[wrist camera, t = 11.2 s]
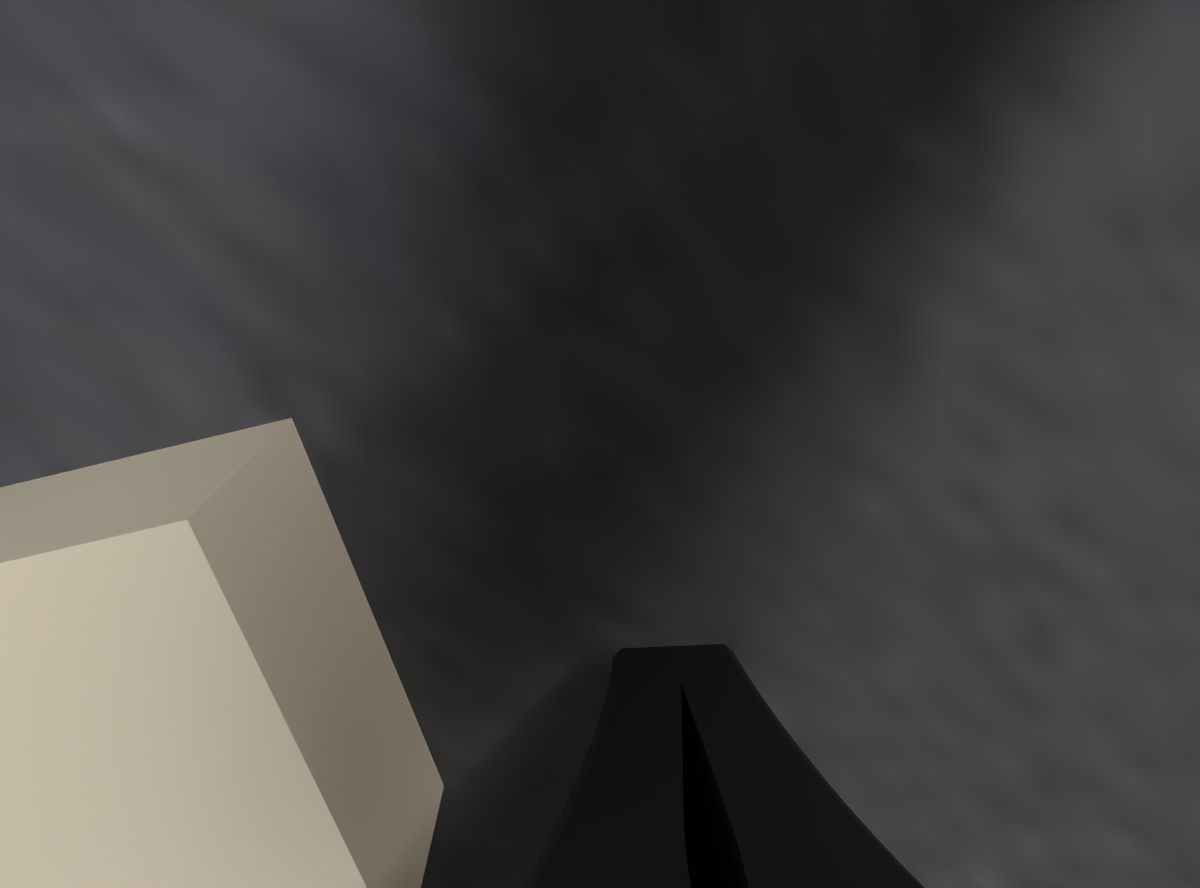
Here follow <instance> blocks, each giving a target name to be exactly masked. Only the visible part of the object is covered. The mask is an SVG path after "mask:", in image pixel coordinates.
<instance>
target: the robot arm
mask: <svg viewBox="0 0 1200 888" xmlns="http://www.w3.org/2000/svg"><path fill="white" fill-rule="evenodd" d="M524 888H924V887H923V886H922V885H921V884H920V883H919V882H918V881H917V880H916V879H915V878H914V877H913V876H912V875H911V874H910V873H909V872H908V871H907V870H906V869H905V867H904V866H903V865H902V864H901V863H900V862H899V861H898V860H897V859H896V858H895V857H894V856H893V855H892V854H891V853H890V852H889V851H888V850H887V849H886V848H885V847H884V846H883V844H882V843H881V842H880V841H879V840H878V839H877V838H876V837H875V836H874V835H873V834H872V832H871V831H870V830H869V829H868V828H867V827H866V826H865V825H864V824H863V822H862V821H861V820H860V819H859V818H858V817H857V816H856V815H855V814H854V812H853V811H852V810H851V809H850V808H849V807H848V806H847V805H846V804H845V802H844V801H843V800H842V799H841V798H840V796H839V795H838V794H837V793H836V792H835V791H834V789H833V788H832V787H831V786H830V785H829V784H828V782H827V781H826V780H825V779H824V778H823V776H822V775H821V774H820V773H819V771H818V770H817V769H816V768H815V766H814V765H813V764H812V763H811V761H810V760H809V759H808V758H807V756H806V755H805V754H804V753H803V751H802V750H801V749H800V748H799V746H798V745H797V744H796V743H795V741H794V740H793V739H792V737H791V736H790V735H789V733H788V732H787V731H786V729H785V728H784V727H783V726H782V724H781V723H780V722H779V720H778V719H777V717H776V716H775V715H774V713H773V712H772V710H771V709H770V708H769V706H768V705H767V703H766V702H765V701H764V699H763V698H762V696H761V695H760V693H759V692H758V690H757V689H756V688H755V686H754V685H753V683H752V682H751V680H750V679H749V677H748V675H747V674H746V672H745V671H744V669H743V668H742V666H741V664H740V663H739V661H738V659H737V658H736V656H735V654H734V652H733V651H732V650H730V649H729V648H728V647H727V646H726V645H725V644H714V645H692V646H670V647H648V648H626V649H621V650H620V651H619V652H618V653H617V654H616V655H615V656H614V657H613V663H612V673H611V678H610V683H609V688H608V692H607V696H606V699H605V703H604V706H603V709H602V713H601V716H600V719H599V722H598V725H597V729H596V731H595V734H594V737H593V739H592V742H591V744H590V747H589V750H588V752H587V755H586V758H585V760H584V763H583V766H582V768H581V771H580V773H579V776H578V778H577V781H576V783H575V785H574V788H573V790H572V792H571V794H570V797H569V799H568V801H567V803H566V805H565V807H564V809H563V812H562V814H561V816H560V818H559V820H558V822H557V824H556V827H555V829H554V831H553V833H552V835H551V837H550V839H549V842H548V844H547V846H546V848H545V850H544V852H543V854H542V856H541V857H540V859H539V861H538V863H537V865H536V867H535V869H534V871H533V873H532V875H531V877H530V878H529V880H528V882H527V884H526V886H525V887H524Z"/></svg>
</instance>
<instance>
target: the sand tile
mask: <svg viewBox="0 0 1200 888" xmlns="http://www.w3.org/2000/svg"><path fill="white" fill-rule="evenodd" d="M443 788H444V785H443V782H442V780H441V778H440V775H439V773H438V770H437V768H436V766H435V763H434V761H433V758H432V756H431V753H430V751H429V749H428V746H427V744H426V741H425V739H424V737H423V734H422V732H421V729H420V727H419V724H418V722H417V720H416V717H415V715H414V712H413V710H412V708H411V705H410V703H409V700H408V698H407V695H406V693H405V691H404V688H403V686H402V683H401V681H400V679H399V676H398V674H397V671H396V669H395V666H394V664H393V662H392V659H391V657H390V654H389V652H388V649H387V647H386V645H385V642H384V640H383V637H382V635H381V633H380V630H379V628H378V625H377V623H376V620H375V618H374V616H373V613H372V611H371V608H370V606H369V604H368V601H367V599H366V596H365V594H364V591H363V589H362V587H361V584H360V582H359V579H358V577H357V575H356V572H355V570H354V567H353V565H352V562H351V560H350V558H349V555H348V553H347V550H346V548H345V546H344V543H343V541H342V538H341V536H340V533H339V531H338V529H337V526H336V524H335V521H334V519H333V517H332V514H331V512H330V509H329V507H328V504H327V502H326V500H325V497H324V495H323V492H322V490H321V487H320V485H319V483H318V480H317V478H316V475H315V473H314V471H313V468H312V466H311V463H310V461H309V458H308V456H307V454H306V451H305V449H304V446H303V444H302V442H301V439H300V437H299V434H298V432H297V429H296V427H295V425H294V422H293V420H292V418H289V419H285V420H281V421H277V422H273V423H268V424H264V425H260V426H256V427H252V428H248V429H243V430H239V431H235V432H231V433H227V434H223V435H218V436H214V437H210V438H206V439H202V440H197V441H193V442H189V443H185V444H181V445H177V446H172V447H168V448H164V449H160V450H156V451H152V452H147V453H143V454H139V455H135V456H131V457H127V458H122V459H118V460H114V461H110V462H106V463H102V464H97V465H93V466H89V467H85V468H81V469H77V470H72V471H68V472H64V473H60V474H56V475H52V476H47V477H43V478H39V479H35V480H31V481H27V482H22V483H18V484H14V485H10V486H6V487H2V488H0V888H421V885H422V881H423V876H424V872H425V867H426V863H427V859H428V854H429V850H430V845H431V841H432V836H433V832H434V828H435V823H436V819H437V814H438V810H439V806H440V801H441V797H442V792H443Z"/></svg>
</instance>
